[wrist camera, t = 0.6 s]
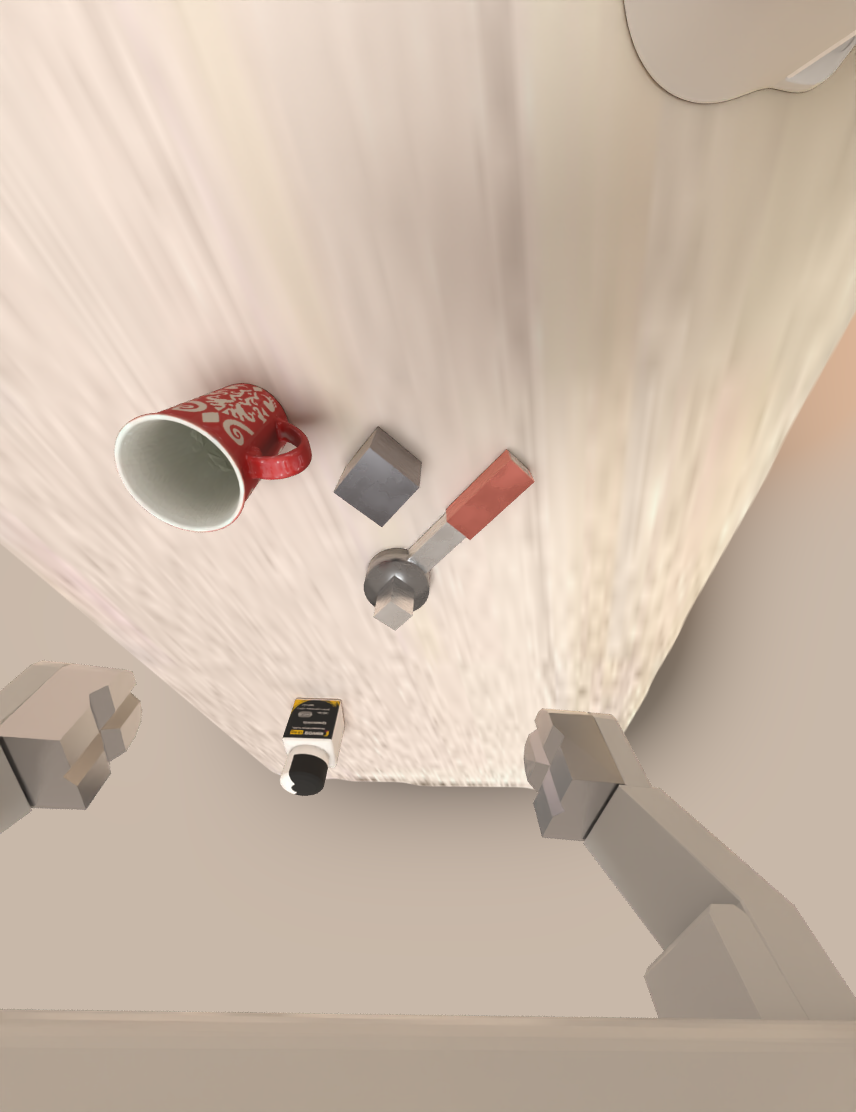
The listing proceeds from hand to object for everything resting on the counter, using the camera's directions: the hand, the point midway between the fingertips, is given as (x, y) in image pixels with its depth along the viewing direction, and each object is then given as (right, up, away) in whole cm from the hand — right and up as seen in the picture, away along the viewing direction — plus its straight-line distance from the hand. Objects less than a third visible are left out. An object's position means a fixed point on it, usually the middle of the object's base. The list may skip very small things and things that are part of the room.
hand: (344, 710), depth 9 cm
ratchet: (+3, +6, +39) cm, 39 cm away
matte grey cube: (-3, +13, +34) cm, 37 cm away
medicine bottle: (-15, -22, +58) cm, 64 cm away
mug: (-14, +16, +32) cm, 39 cm away
